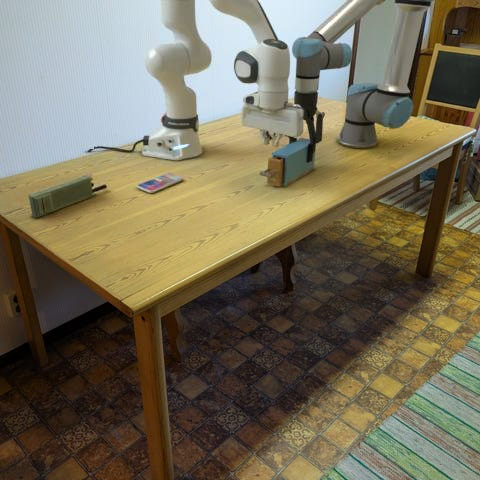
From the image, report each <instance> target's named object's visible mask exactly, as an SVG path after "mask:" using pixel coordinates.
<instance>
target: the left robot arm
mask: <svg viewBox="0 0 480 480" xmlns="http://www.w3.org/2000/svg"><path fill="white" fill-rule="evenodd" d="M209 2H210V4H211V5H212V7H213V8H214V9H215V10H217V11H218V12H219V13H222V14H224V15H227V16H231V17H234V18H236V19H239V20H241V22H244V23H245V24H246V25H247V26H248V27H249V28H250V30H251V32H252V34H253V36H254V38H255V40H256V42H257V45H256V46H254V47H250V48H248V49H244V50H241V51H239V52H238V53H237V54H236V56H235V58H234V61H233V71H234V74H235V77H236V78H237V80H238V81H239V82H241V83H242V84H247V85H251V84H256V85H257V86H258V87H257V91H255V92H252V93H249V94H246V95H244V96H243V98H242V102H243V105H242V107H241V111H240V112H241V114H240V122H241V125H242V126H243V127H247V128H251V129H256V130H259V135H260V137H261V139H262V145H266V146H268V145H270V140H271V139H270V138H267V135H266V132H267V131H269V133H273V134H274V133H276V135H275V137H276V138H275V139H274V140H272V142H271V143H272V144H271V146H272V147H273V148H278V147H280V141H281V139H282V138H283V136H285V135H287V136H291V137H295V138H298V137H300V136H302V134H304V130H305V129H304V127H305V126H304V120H303V116H304V110H303V108H302V107H301V106H300V105H299V104H294V103H293V102H289V89H290V88H289V84H288V83H289V82H288V81H289V77H290V70H291V54H290V48H289V45H288V44H287V43H286V42H285V41H283V40H281V39H279V38H278V35H277V33H276V32H275V29H274V28H273V25H272V23H271V22H270V19H269V18H268V16H267V14H266V11H265V10H264V7H263V6H262V4H261V2H260V1H259V0H209ZM160 6H161V7H160V8H161V22H162V24H163V26H164V27H165V28H166V29H167V30H168V31H170V32H172V34H173V37H174V42H172V43H164V44H163V43H162V44H159V45H157V46H154V47H151V48H149V49H148V50H147V51H146V55H145V58H144V65H145V68H146V71H147V72H148V74H149V75H150V76H151V77H152V78H153V79H155V80H156V81H157V82H158V84H159V85H160V87H161V89H162V91H163V94H164V102H165V113H163V114H162V116H161V118H160V123H161V125H159V127H157V128H156V129H155V130H154V131H152V132H151V133H150V135H144V136H143V138H142V139H139V140H137V141H136V142H135V143H134V144H133V146H132V149H124V148H118V147H111V146H102V145H97V147H96V146H93V147H94V149H91V148H89V149H88V150H87V153H91V152H92V151H93V150H97V149H103V150H112V151H118V152H123V153H132V152H134V151H135V150H136V146H137V145H139V144H141V143H142V146H144V147H143V148H142V150H141V155H142V156H145V157H152V158H157V159H164V160H170V161H176V162H178V161H182V160H185V159H190V158H191V159H192V158H196V157H198V156H200V155H202V153H203V149H202V148H203V147H202V145H201V142H200V134H199V128H200V121H199V114H198V103H197V93H196V92H195V91H194V89H192V88H191V87H189V86H187V84H186V81H185V76H190V75H196V74H199V73H201V72H203V71H205V70H207V69H209V68H210V67H211V63H212V57H213V56H212V51H211V49H210V47H209V46H208V44H207V43H206V42H205V41H204V40H203V39H202V37H201V35H200V34H199V30H198V27H197V26H198V25H197V19H196V0H160ZM300 108H301V109H300ZM287 136H286V137H287Z"/></svg>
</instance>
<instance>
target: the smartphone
mask: <svg viewBox="0 0 480 480" xmlns="http://www.w3.org/2000/svg"><path fill="white" fill-rule="evenodd" d="M182 181H184V177H183V176H180V175H179V174H174V173H172V172H166V173H163V174H161V175H159V176H156V177H154V178H151V179H149V180H146V181H143V182H141V183H138V184H137V185H136V188H137V189H139V190H141V191H143V192H145V193H148V194H154V193H156V192H158V191H160V190H161V191H162V190H164V189H166V188H168V187H170V186H172V185H175V184H177V183H180V182H182Z"/></svg>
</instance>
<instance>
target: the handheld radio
mask: <svg viewBox="0 0 480 480" xmlns="http://www.w3.org/2000/svg"><path fill="white" fill-rule="evenodd" d="M92 176H93V174H91V173H88V174H85V175H83V176H79V177H76V178H74V179H71V180H68V181H65V182H62V183H59V184H57V185H54V186H50V187H47V188H44V189H42V190H39V191H37V192H33V193H30V194H28V200H29V206H30V210H31V216H32V217H34V218H35V219H36V218H39V217H42V216H45V215H47V214H50V213H53V212H56V211H58V210H60V209H63V208H66V207H68V206H72V205H73V204H76V203H80V202H82V201H84V200H87V199H90V198H93V196H95V195H96V194H95V193H97V192H100V191H102V190H106V189H107V188H108V186H107V184H102V185H99V186H96V187H94V186H95V183H94V182H92V181H93V180H94V178H93V177H92ZM93 187H94V188H93Z"/></svg>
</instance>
